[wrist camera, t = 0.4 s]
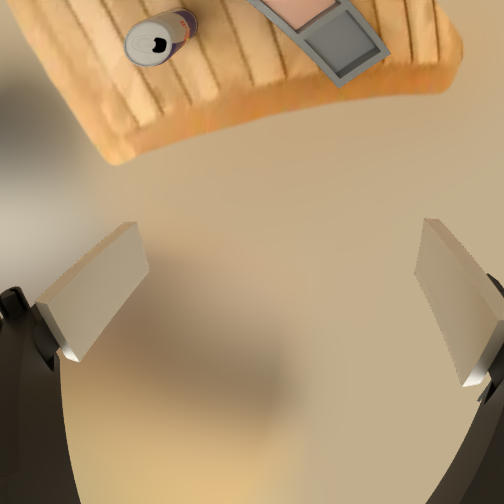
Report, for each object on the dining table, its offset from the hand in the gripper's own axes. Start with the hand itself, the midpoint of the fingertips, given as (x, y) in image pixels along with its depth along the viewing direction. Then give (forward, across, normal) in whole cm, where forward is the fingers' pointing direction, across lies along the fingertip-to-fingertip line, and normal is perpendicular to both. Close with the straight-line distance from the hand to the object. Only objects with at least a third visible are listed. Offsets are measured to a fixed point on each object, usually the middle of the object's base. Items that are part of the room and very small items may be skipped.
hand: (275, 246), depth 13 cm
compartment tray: (+26, +2, +21) cm, 33 cm away
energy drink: (+25, -13, +19) cm, 34 cm away
